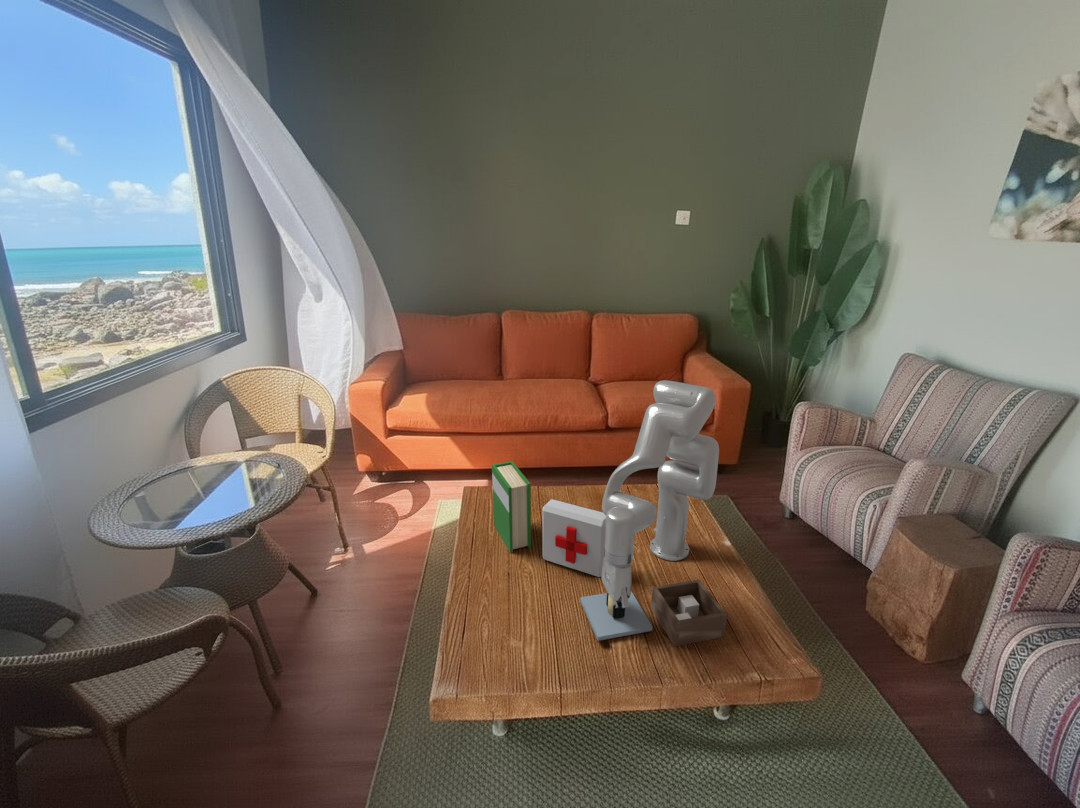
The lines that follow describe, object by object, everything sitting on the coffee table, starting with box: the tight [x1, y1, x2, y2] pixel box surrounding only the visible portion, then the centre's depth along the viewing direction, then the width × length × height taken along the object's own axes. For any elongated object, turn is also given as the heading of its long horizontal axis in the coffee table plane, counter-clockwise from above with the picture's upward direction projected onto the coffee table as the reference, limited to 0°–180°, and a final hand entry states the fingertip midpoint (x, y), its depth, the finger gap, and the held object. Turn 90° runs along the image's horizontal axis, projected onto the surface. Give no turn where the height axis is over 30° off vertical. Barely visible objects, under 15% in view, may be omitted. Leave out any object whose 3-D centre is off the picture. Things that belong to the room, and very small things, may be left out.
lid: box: [579, 590, 654, 642], centre depth 138 cm, size 15×15×6 cm
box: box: [650, 579, 728, 647], centre depth 136 cm, size 14×14×8 cm
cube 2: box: [675, 613, 691, 620], centre depth 133 cm, size 4×4×4 cm
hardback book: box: [491, 460, 532, 554], centre depth 173 cm, size 18×7×24 cm, turn 22°
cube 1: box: [677, 595, 699, 618], centre depth 140 cm, size 4×4×4 cm
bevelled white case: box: [541, 498, 606, 578], centre depth 158 cm, size 21×8×20 cm, turn 62°
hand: (615, 610), depth 138 cm, fingers closed on lid, 4 cm apart
